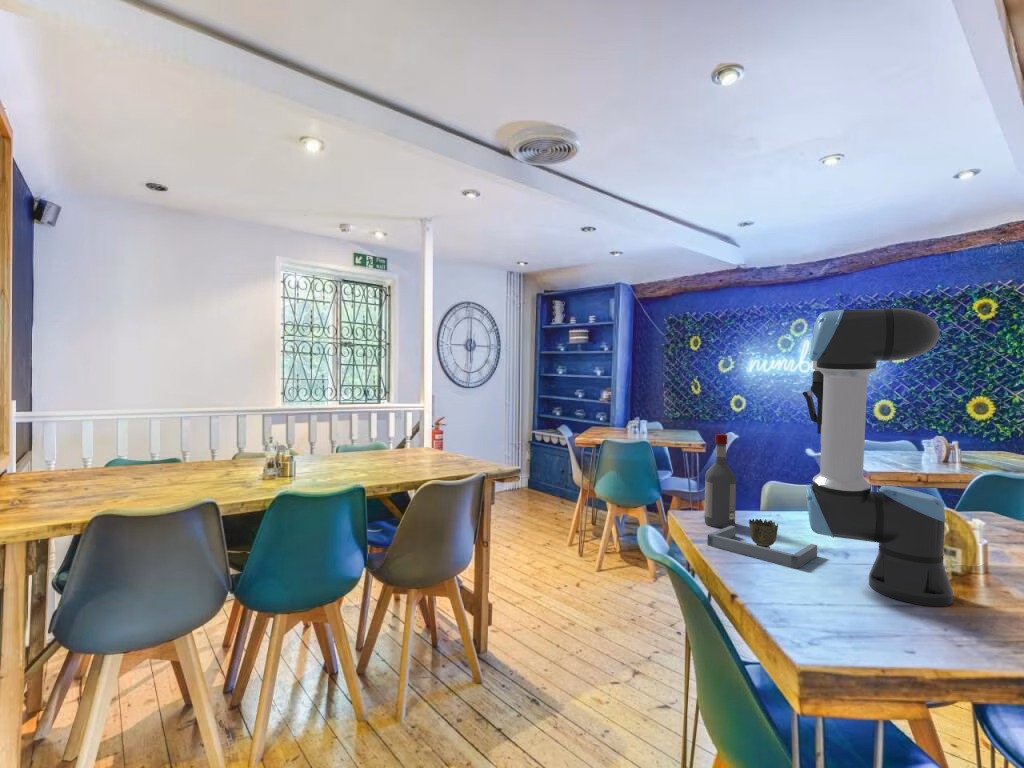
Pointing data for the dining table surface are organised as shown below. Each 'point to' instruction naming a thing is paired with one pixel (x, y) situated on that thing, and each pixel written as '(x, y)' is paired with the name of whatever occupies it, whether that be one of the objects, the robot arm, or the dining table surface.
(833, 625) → the dining table surface
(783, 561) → the corral
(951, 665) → the dining table surface
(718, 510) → the liquor
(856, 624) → the dining table surface
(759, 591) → the dining table surface
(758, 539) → the cup
